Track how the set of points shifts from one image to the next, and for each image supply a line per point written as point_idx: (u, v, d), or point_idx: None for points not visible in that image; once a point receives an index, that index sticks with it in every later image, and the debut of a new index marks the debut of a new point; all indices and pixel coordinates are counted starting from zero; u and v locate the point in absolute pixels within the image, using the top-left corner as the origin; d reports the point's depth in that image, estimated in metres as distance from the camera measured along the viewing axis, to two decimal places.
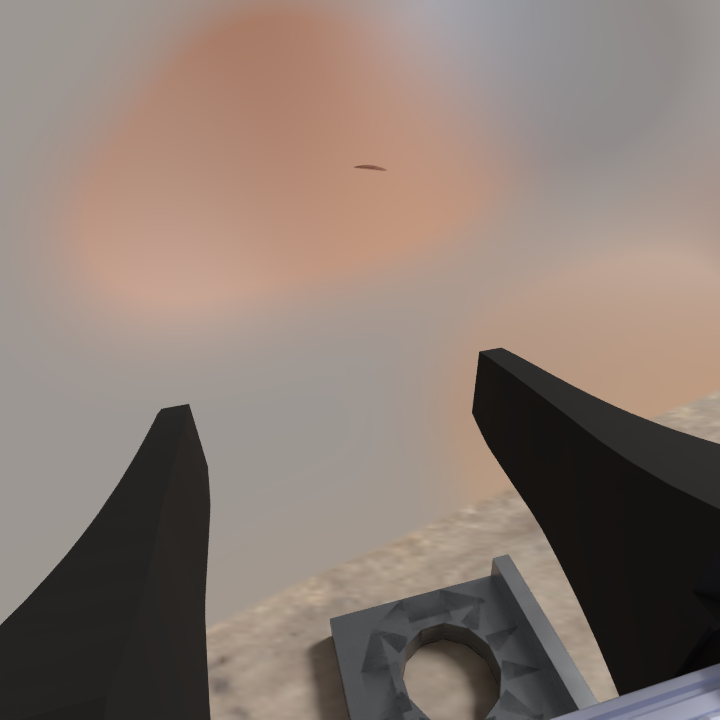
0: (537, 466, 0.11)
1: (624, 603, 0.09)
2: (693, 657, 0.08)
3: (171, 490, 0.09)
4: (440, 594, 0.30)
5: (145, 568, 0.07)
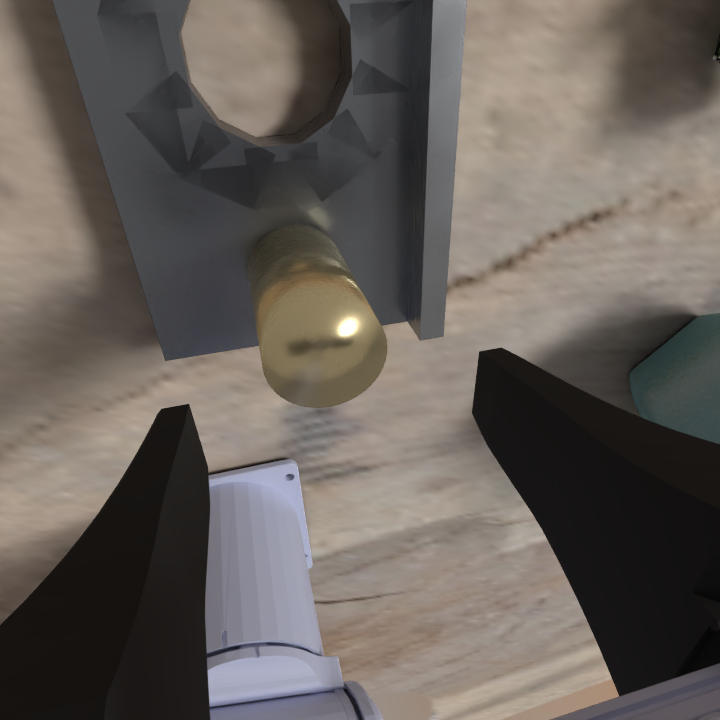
0: (537, 466, 0.11)
1: (623, 603, 0.09)
2: (693, 658, 0.08)
3: (171, 490, 0.09)
4: None
5: (145, 568, 0.07)
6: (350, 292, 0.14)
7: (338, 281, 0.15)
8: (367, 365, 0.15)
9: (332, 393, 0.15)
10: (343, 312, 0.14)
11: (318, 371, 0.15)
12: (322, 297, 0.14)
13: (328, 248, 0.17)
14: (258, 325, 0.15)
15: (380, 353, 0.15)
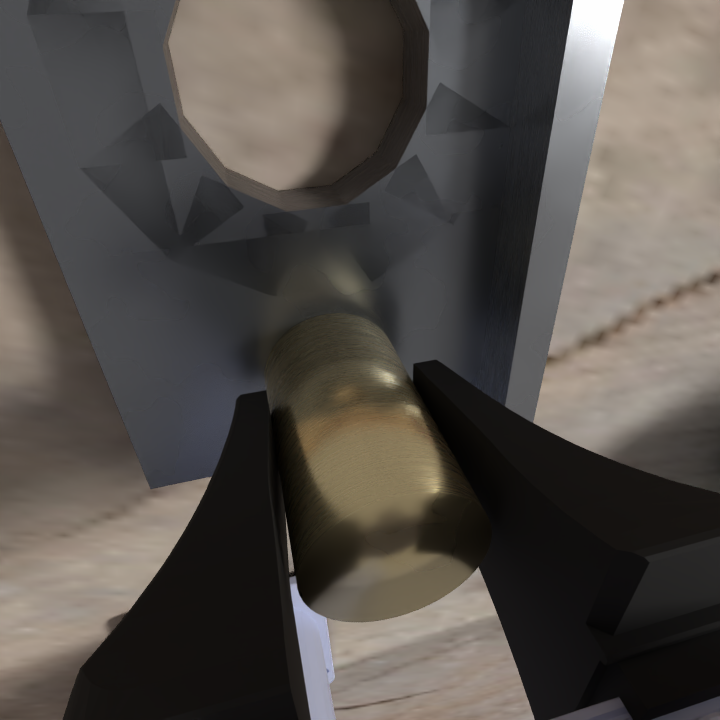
0: None
1: (534, 629, 0.09)
2: (594, 690, 0.07)
3: (269, 469, 0.09)
4: None
5: (270, 539, 0.07)
6: (436, 458, 0.09)
7: (415, 436, 0.09)
8: (458, 564, 0.09)
9: (401, 602, 0.10)
10: (431, 505, 0.08)
11: (383, 580, 0.09)
12: (398, 482, 0.08)
13: (385, 357, 0.12)
14: (287, 500, 0.10)
15: (479, 548, 0.09)
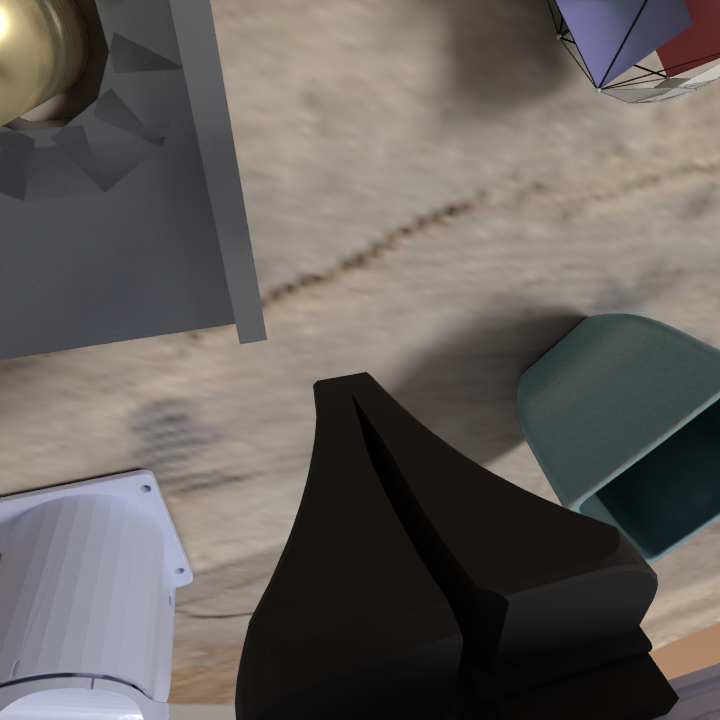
0: None
1: None
2: None
3: None
4: None
5: (389, 511, 0.08)
6: None
7: None
8: (8, 62, 0.11)
9: None
10: None
11: None
12: None
13: None
14: None
15: (22, 41, 0.10)
